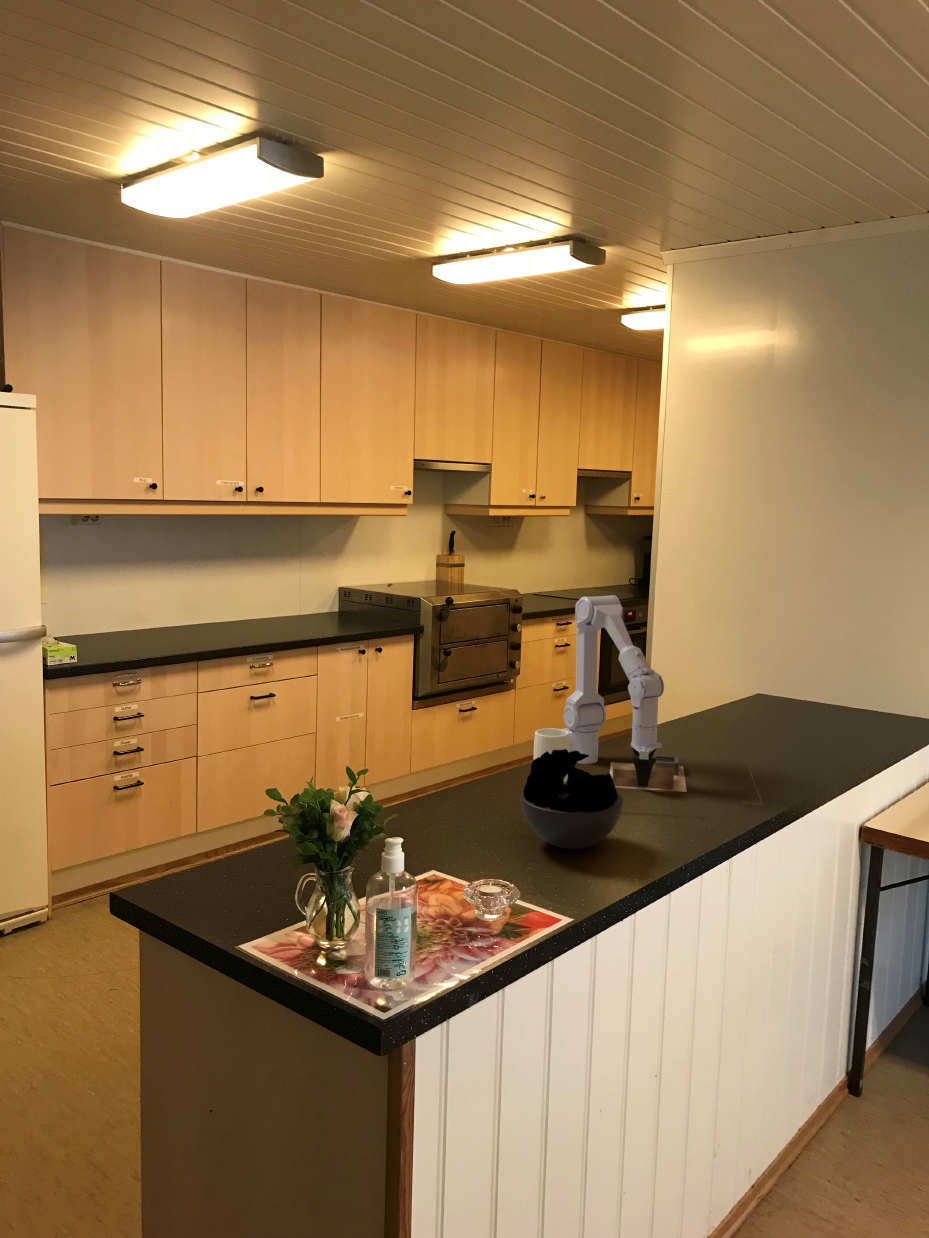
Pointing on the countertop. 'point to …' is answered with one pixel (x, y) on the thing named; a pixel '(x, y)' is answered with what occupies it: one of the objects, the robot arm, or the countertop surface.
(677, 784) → the mounting board
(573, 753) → the bowl of black rocks
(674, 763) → the bracket
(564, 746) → the cup
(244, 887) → the countertop surface
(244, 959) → the countertop surface
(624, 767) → the rail
